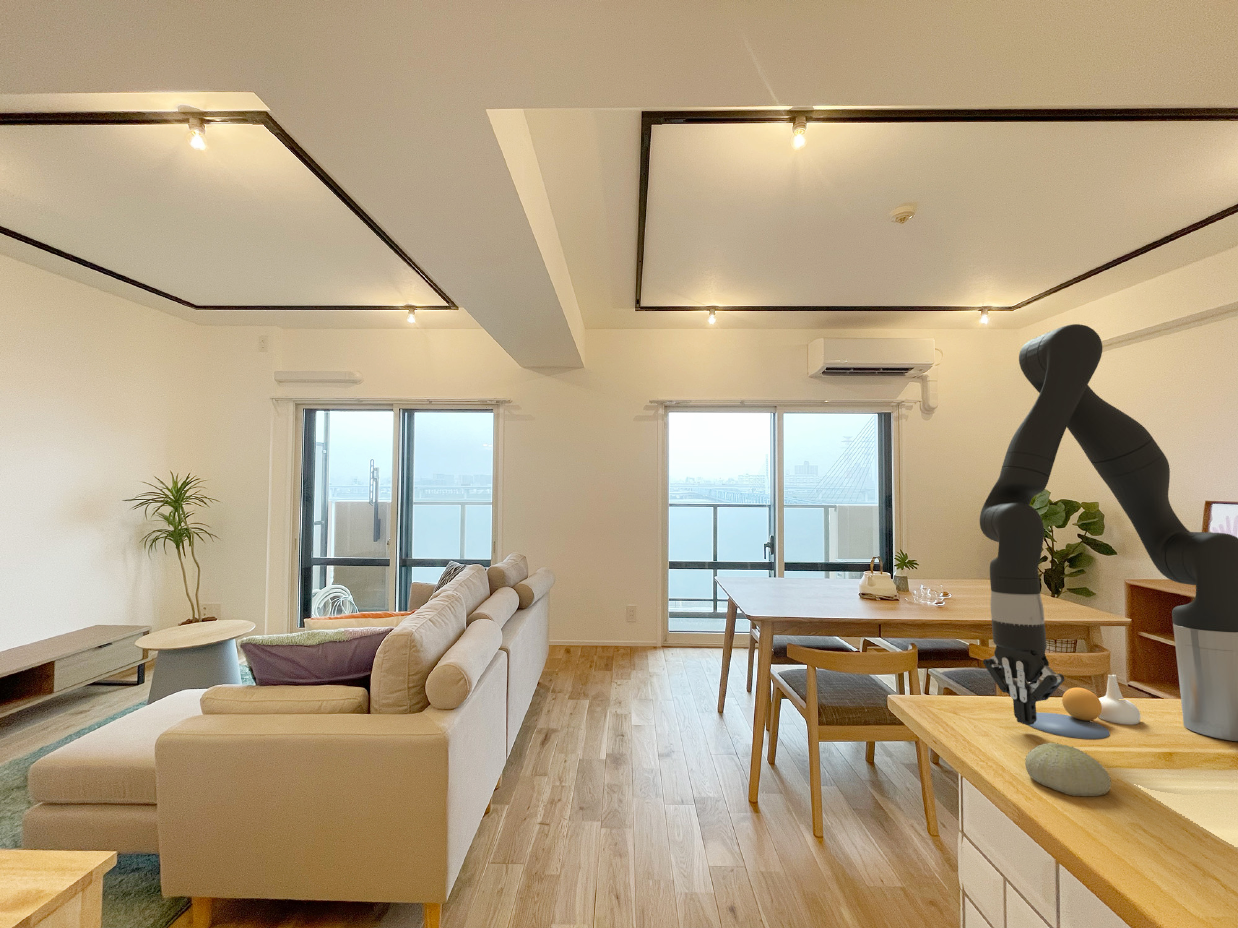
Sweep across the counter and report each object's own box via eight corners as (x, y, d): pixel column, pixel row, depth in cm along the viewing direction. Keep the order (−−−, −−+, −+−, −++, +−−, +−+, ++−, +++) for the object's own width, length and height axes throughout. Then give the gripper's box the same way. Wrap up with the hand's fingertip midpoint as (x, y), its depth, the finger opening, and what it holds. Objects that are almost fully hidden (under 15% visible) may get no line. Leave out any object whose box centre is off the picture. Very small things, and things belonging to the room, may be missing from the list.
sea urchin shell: (1099, 761, 79) (1105, 733, 75) (1113, 822, 74) (1120, 795, 70) (1020, 748, 84) (1021, 721, 80) (1027, 804, 79) (1029, 778, 74)
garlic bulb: (1135, 720, 101) (1129, 673, 103) (1146, 728, 96) (1140, 679, 97) (1091, 714, 104) (1086, 669, 106) (1099, 722, 99) (1094, 674, 100)
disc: (1052, 710, 105) (1052, 709, 105) (1127, 733, 94) (1127, 732, 94) (1005, 718, 101) (1005, 716, 101) (1077, 743, 90) (1077, 741, 90)
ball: (1077, 711, 104) (1074, 681, 104) (1111, 722, 98) (1107, 690, 99) (1056, 716, 102) (1052, 686, 102) (1089, 727, 97) (1085, 695, 97)
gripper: (1073, 623, 92) (1083, 734, 90) (997, 611, 104) (1004, 708, 102) (1040, 627, 89) (1050, 740, 88) (966, 614, 102) (973, 713, 100)
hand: (1025, 722), depth 95 cm, fingers closed
